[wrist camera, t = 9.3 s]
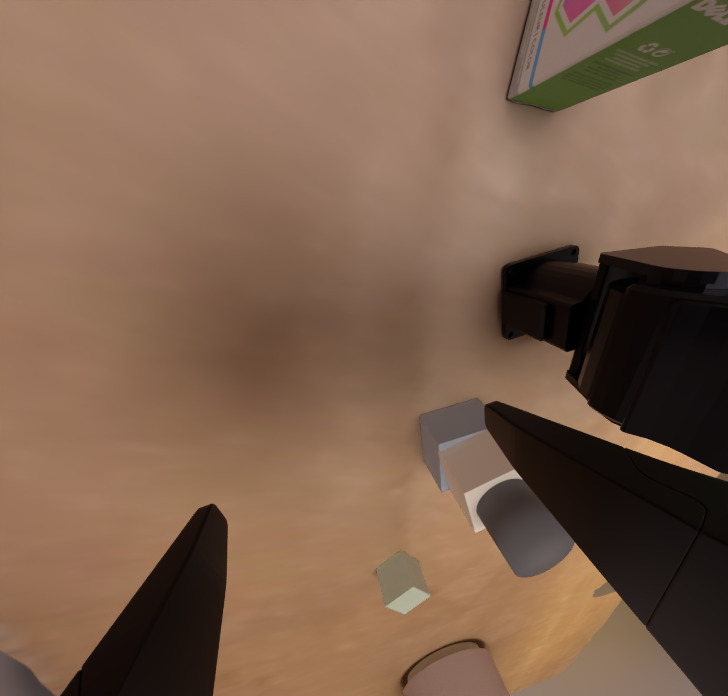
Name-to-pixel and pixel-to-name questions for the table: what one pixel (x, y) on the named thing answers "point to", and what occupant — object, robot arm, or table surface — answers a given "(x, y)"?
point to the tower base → (449, 433)
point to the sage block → (402, 583)
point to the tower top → (475, 472)
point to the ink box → (608, 45)
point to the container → (456, 673)
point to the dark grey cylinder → (523, 528)
